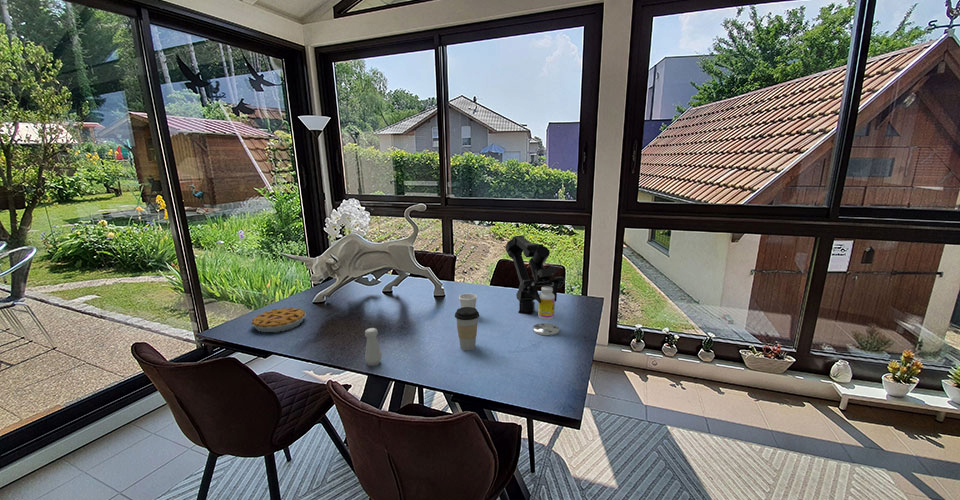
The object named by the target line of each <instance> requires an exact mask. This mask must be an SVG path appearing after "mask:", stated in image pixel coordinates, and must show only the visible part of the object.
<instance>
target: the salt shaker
mask: <svg viewBox="0 0 960 500" xmlns="http://www.w3.org/2000/svg"><path fill="white" fill-rule="evenodd" d="M378 334H379V331H378V330H377V328H376V327H375V328H374V327H370V328H367V329H366V330H365V331H364V337H365V338H366V345H365V355H364V360H365V362H366V364H367V365H368V366H370V367H374V366H378V365H379V364H380V363H381V360H382V352H381V349H380V345H379V342H378V338H377V336H378Z"/></svg>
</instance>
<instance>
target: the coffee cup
mask: <svg viewBox="0 0 960 500" xmlns="http://www.w3.org/2000/svg"><path fill="white" fill-rule="evenodd" d="M454 318H456V328H457V335H458V340H459V347H460V349H461V350H463V351H472V350H474V349H476V343H477V342H476V339H477V331H478V324H479V323H478V319H479V318H480V313H479V311H478V309H477V308H476V307H475V308H473V307H462V308H461V307H459V308H457V309H456V312H455V313H454Z"/></svg>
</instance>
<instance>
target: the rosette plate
mask: <svg viewBox="0 0 960 500" xmlns="http://www.w3.org/2000/svg"><path fill="white" fill-rule="evenodd" d="M532 332H533V333H535V334H537V335H539V336H545V337H551V336H555V335H558V334H559V333H560V327H559V326H558V325H556V324H553V323H551V322H550V323H549V322H540V323H537V324H534V325H533V327H532Z"/></svg>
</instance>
